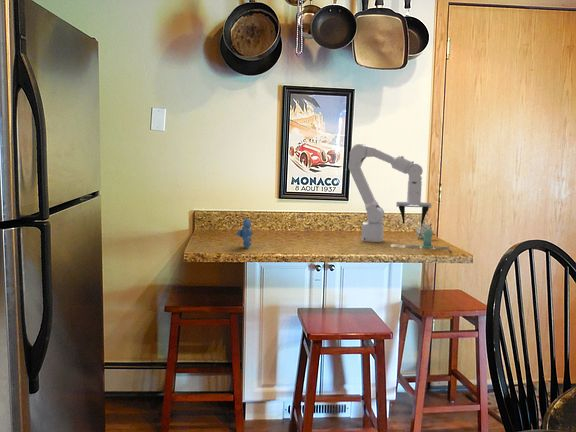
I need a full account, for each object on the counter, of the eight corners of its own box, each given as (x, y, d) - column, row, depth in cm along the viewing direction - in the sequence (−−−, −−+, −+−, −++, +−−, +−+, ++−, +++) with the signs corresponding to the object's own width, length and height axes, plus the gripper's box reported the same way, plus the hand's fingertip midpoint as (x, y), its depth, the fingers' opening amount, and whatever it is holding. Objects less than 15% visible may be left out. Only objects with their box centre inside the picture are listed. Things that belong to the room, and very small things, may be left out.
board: (390, 250, 218) (390, 247, 218) (390, 245, 228) (390, 243, 228) (451, 253, 214) (451, 250, 214) (448, 248, 224) (448, 246, 224)
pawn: (421, 248, 219) (422, 229, 218) (421, 246, 223) (422, 228, 222) (433, 248, 218) (434, 230, 217) (432, 246, 222) (433, 228, 221)
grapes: (236, 244, 224) (236, 216, 223) (252, 244, 225) (252, 216, 223) (236, 250, 213) (236, 220, 211) (253, 250, 213) (253, 220, 212)
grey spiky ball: (423, 249, 242) (416, 233, 236) (414, 239, 249) (408, 224, 243) (440, 239, 241) (434, 223, 236) (431, 230, 249) (425, 214, 243)
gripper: (397, 192, 225) (395, 224, 227) (432, 193, 222) (430, 225, 224) (396, 191, 232) (395, 222, 233) (431, 192, 229) (429, 223, 231)
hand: (412, 223), depth 229 cm, fingers open, 7 cm apart
